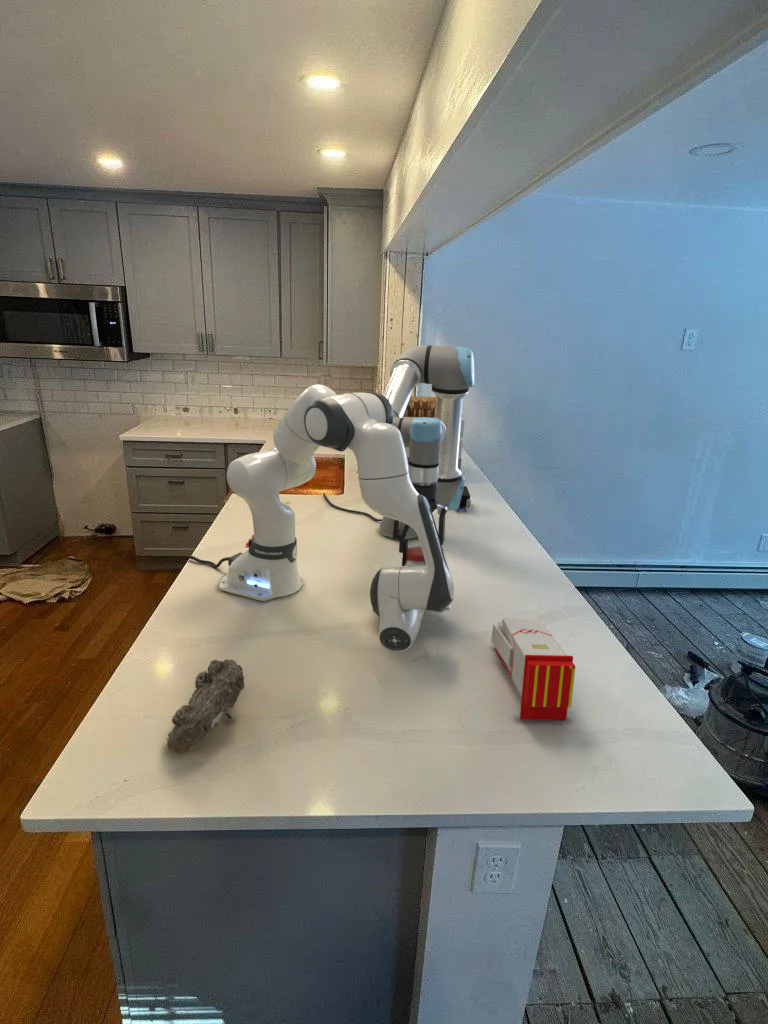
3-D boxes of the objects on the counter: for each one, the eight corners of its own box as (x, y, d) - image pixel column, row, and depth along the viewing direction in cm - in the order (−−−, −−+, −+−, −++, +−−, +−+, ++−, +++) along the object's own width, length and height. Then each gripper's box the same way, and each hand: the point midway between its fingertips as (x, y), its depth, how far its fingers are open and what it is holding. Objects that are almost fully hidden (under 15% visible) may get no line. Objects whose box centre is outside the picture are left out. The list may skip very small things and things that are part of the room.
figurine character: (470, 516, 223) (465, 500, 237) (473, 499, 220) (467, 484, 233) (453, 516, 223) (449, 500, 236) (455, 498, 220) (451, 483, 233)
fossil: (192, 660, 117) (244, 628, 112) (224, 691, 120) (276, 661, 115) (142, 746, 98) (202, 712, 93) (182, 779, 101) (242, 748, 96)
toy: (537, 603, 136) (584, 662, 106) (532, 655, 138) (577, 726, 109) (487, 602, 135) (520, 661, 106) (483, 654, 138) (514, 725, 109)
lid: (402, 553, 149) (402, 547, 148) (423, 551, 151) (423, 545, 150) (411, 563, 144) (411, 557, 143) (432, 560, 146) (433, 554, 145)
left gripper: (450, 600, 135) (455, 575, 148) (367, 588, 139) (379, 565, 151) (448, 623, 137) (453, 596, 150) (366, 611, 141) (378, 586, 154)
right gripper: (462, 481, 142) (454, 565, 149) (389, 473, 146) (385, 555, 154) (457, 490, 135) (449, 577, 143) (381, 480, 139) (378, 566, 147)
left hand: (415, 581), depth 151 cm, fingers closed on jar, 5 cm apart
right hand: (416, 565), depth 148 cm, fingers closed on lid, 6 cm apart
